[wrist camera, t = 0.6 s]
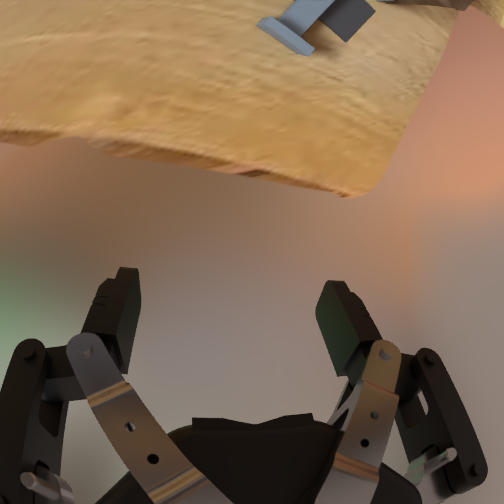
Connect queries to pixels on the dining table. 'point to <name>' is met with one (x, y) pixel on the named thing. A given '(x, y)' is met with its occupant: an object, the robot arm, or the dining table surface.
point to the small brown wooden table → (436, 3)
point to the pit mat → (346, 16)
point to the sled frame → (296, 24)
